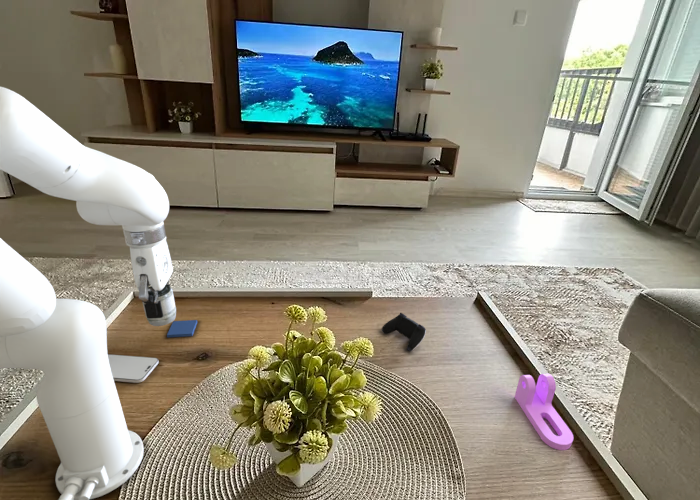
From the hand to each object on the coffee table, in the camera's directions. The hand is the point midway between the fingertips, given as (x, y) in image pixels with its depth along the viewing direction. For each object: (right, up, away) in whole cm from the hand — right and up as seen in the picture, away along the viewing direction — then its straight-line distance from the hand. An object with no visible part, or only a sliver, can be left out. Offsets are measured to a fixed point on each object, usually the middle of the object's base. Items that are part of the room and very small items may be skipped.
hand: (160, 307), depth 88 cm
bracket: (+80, -21, -10) cm, 84 cm away
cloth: (-1, -8, +13) cm, 15 cm away
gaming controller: (+56, -10, +13) cm, 58 cm away
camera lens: (0, -3, +1) cm, 3 cm away
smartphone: (-9, -14, -1) cm, 16 cm away
